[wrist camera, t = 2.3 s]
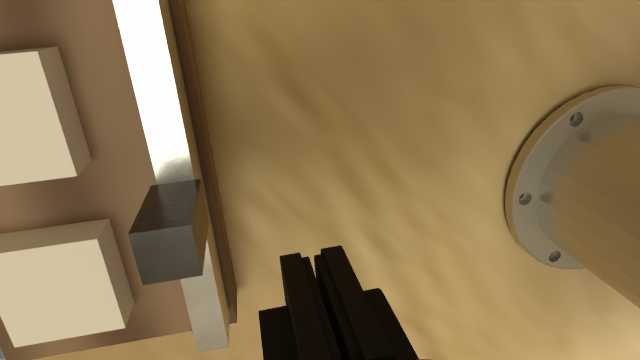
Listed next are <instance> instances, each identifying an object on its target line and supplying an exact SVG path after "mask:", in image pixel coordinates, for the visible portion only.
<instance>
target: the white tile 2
mask: <svg viewBox="0 0 640 360" xmlns="http://www.w3.org/2000/svg"><path fill="white" fill-rule="evenodd" d="M133 305H134V299H133V296H132V293H131V289H130V286H129V283H128V279H127V276H126V273H125V269H124V266H123V263H122V259H121V256H120V253H119V249H118V246H117V243H116V239H115V236H114V233H113V229H112V226H111V223H110V219H102V220H95V221H88V222H81V223H74V224H67V225H60V226H53V227H46V228H39V229H32V230H25V231H18V232H11V233H4V234H0V317H1V319H2V321H3V323H4V325H5V328H6V330H7V332H8V334H9V336H10V339H11V341H12V343H13V345H14V347H21V346H27V345H32V344H38V343H44V342H49V341H55V340H61V339H66V338H72V337H78V336H84V335H89V334H95V333H101V332H106V331H112V330H118V329H123V328H126V325H127V322H128V319H129V316H130V313H131V310H132V308H133Z"/></svg>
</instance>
